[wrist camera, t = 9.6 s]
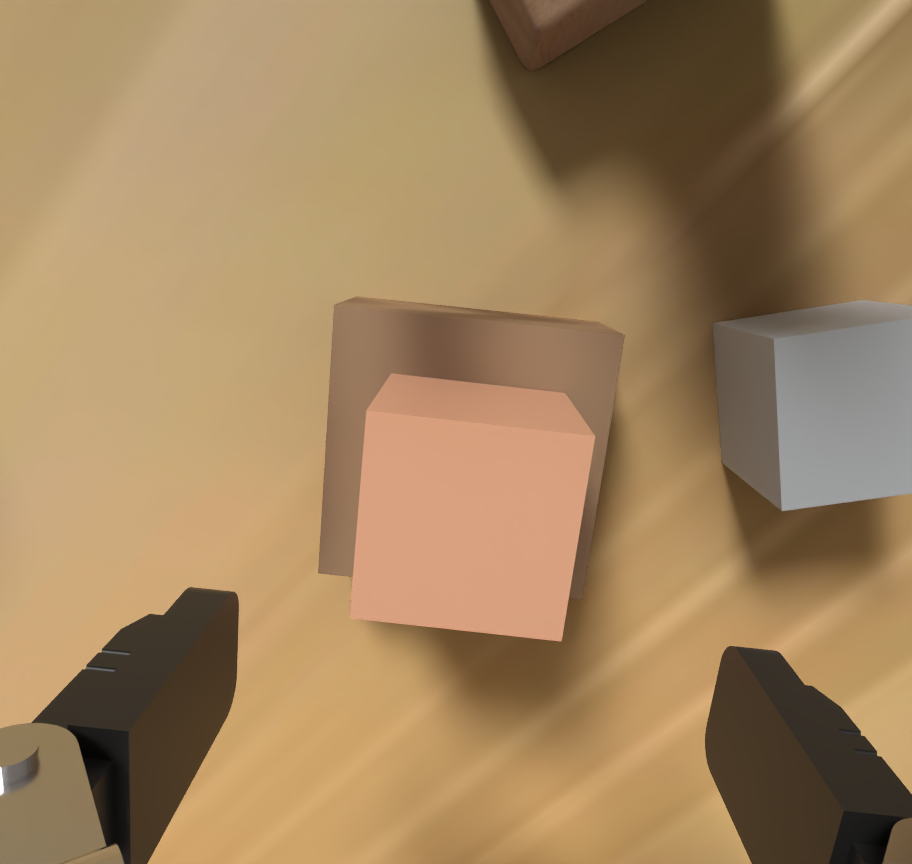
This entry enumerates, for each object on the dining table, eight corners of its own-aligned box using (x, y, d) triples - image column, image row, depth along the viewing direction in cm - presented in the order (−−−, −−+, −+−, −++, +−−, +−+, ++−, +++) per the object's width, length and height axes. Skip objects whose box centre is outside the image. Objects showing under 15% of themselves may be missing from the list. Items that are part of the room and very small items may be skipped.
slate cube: (861, 299, 26) (962, 310, 21) (863, 442, 27) (959, 487, 22) (711, 322, 26) (773, 339, 21) (721, 462, 28) (781, 511, 22)
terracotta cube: (564, 392, 22) (595, 436, 17) (540, 553, 23) (561, 641, 18) (391, 373, 22) (366, 410, 17) (376, 535, 23) (349, 618, 18)
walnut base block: (595, 321, 27) (625, 335, 22) (562, 541, 29) (582, 599, 24) (358, 296, 26) (334, 304, 22) (343, 519, 29) (318, 573, 24)
